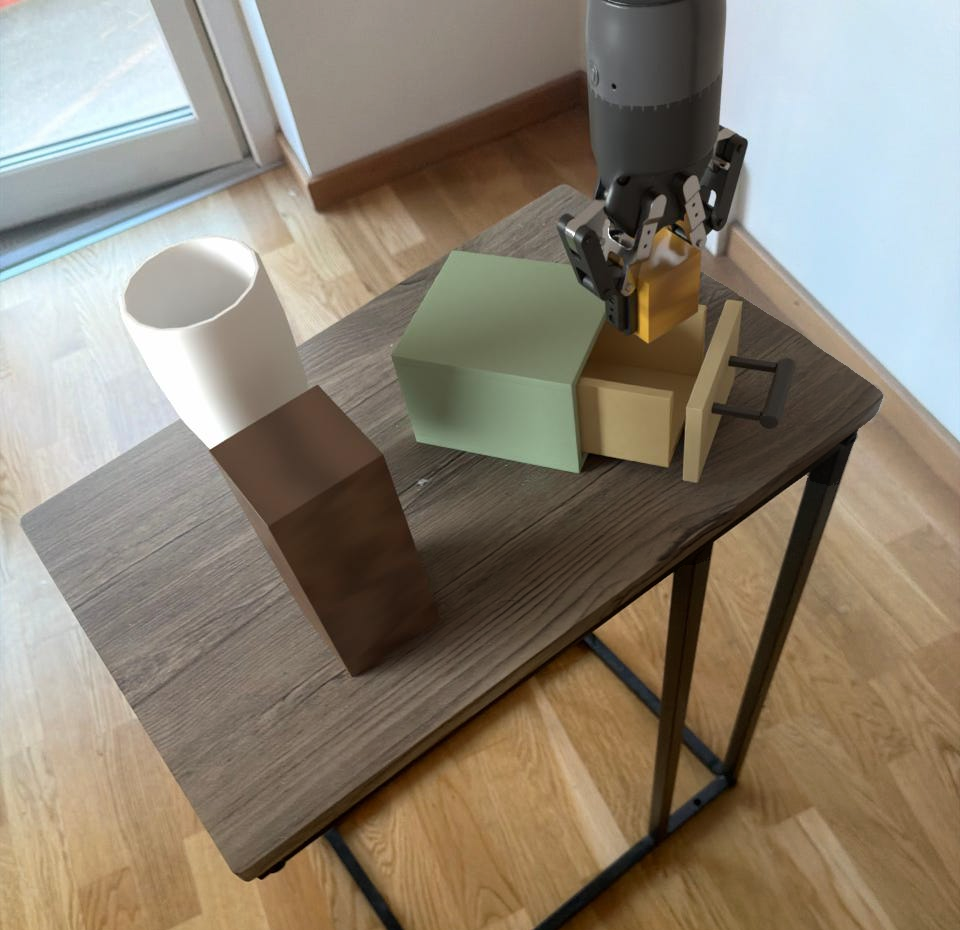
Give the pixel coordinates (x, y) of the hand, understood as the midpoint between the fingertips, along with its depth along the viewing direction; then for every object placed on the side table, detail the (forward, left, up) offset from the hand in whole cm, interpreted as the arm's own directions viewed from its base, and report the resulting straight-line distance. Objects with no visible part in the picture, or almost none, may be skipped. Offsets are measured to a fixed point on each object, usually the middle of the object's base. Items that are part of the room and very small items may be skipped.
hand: (652, 309), depth 66 cm
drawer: (-1, 0, -11) cm, 11 cm away
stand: (+24, +14, -12) cm, 30 cm away
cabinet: (+10, -5, -12) cm, 16 cm away
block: (0, 0, 0) cm, 0 cm away
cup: (+30, +1, -12) cm, 32 cm away
